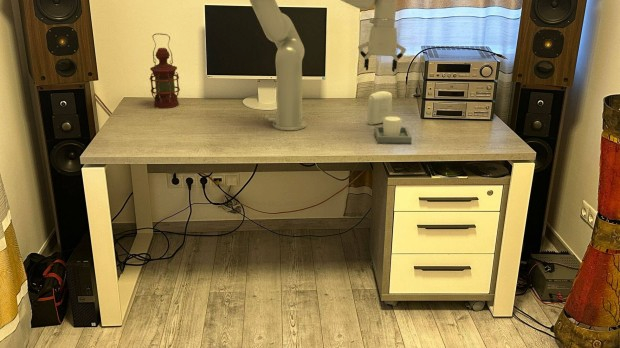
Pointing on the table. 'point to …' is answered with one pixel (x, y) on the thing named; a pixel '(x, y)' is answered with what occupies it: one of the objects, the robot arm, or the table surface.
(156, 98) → the lantern
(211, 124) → the table surface
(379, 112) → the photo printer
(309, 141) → the table surface
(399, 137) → the parts tray
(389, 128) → the white cylinder
